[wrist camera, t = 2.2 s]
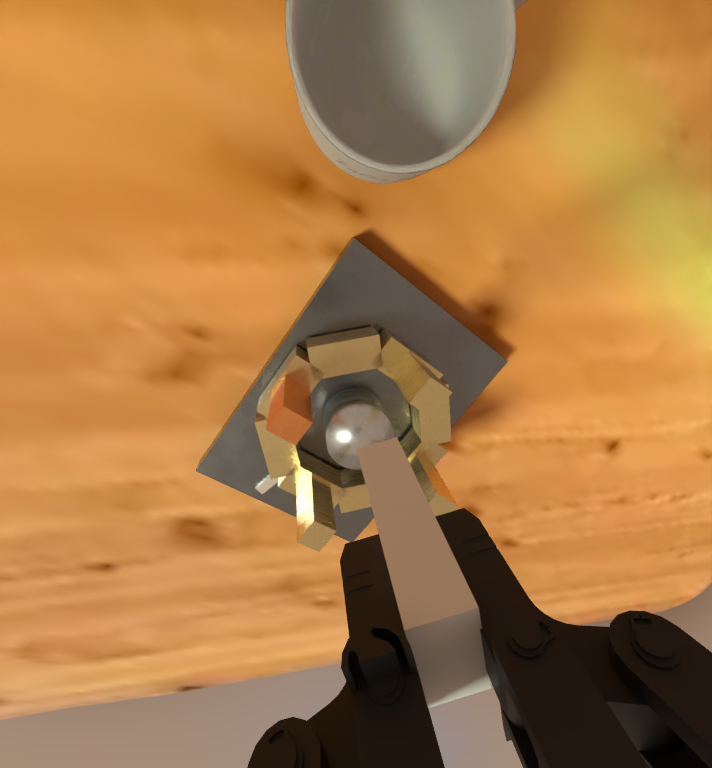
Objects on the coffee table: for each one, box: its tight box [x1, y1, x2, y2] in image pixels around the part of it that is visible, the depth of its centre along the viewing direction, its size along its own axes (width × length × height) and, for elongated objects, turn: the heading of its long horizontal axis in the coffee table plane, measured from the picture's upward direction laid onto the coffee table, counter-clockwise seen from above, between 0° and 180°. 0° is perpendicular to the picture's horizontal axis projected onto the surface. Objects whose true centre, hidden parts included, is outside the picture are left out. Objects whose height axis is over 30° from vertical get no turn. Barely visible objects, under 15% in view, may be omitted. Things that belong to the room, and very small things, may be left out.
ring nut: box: [255, 326, 458, 552], centre depth 27 cm, size 14×14×8 cm
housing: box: [196, 238, 508, 542], centre depth 29 cm, size 16×22×6 cm
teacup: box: [285, 0, 527, 183], centre depth 20 cm, size 14×11×8 cm
